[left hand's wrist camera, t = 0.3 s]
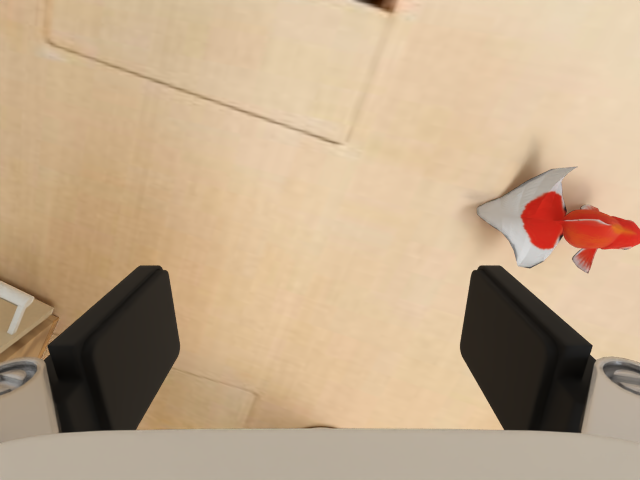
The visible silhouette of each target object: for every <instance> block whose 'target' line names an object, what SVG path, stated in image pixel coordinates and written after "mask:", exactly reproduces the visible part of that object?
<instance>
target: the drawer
mask: <svg viewBox="0 0 640 480" xmlns="http://www.w3.org/2000/svg"><path fill="white" fill-rule="evenodd" d="M53 310H54V308H53V307H51V306H49V305H47V304H45V303H43V302H41V301H39V300H37V299H35V298H34V296H32V295H29V294H27V293H25V292H23V291H21V290H19V289H17V288H15V287H13V286H11V285H9V284H7V283H5V282H3V281H0V354H1V353H2V352H3V351H4V350H6V349H7V348H8V347H10V346H11V345H12V344H14V343H15V342H16V341H18V340H19V339H20V338H21V337H23V336H24V335H25V334H27V333H28V332H29V331H31V330H32V329H33V328H35V327H36V326H37V325H38V324H40V323H41V322H42V321H44V320H45V319H46V318H48V317H49V316H50V315H51V314H52V312H53Z"/></svg>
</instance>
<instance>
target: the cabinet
mask: <svg viewBox="0 0 640 480" xmlns="http://www.w3.org/2000/svg"><path fill="white" fill-rule="evenodd" d="M58 319H59V317H56V316H54V315H52V314H51V315H50V316H49V317H48V318H46V319H45V320H44V321H42V322H41V323H40V324H38V325H37V326H36V327H35V328H33V329H32V330H31V331H29V332H28V333H27V334H25V335H24V336H23V337H21V338H20V339H19V340H18V341H16V342H15V343H14V344H12V345H11V346H10V347H8V348H7V349H6V350H4V351H3V352H2V353H1V354H0V363H1V362H4V361H7V360H11V359H15V358H21V357H37V358H40V359H41V357H42V355H43V352H44V350H45V348H46V346H47V344H48V341H49V339H50V337H51V335H52V333H53V330H54V328H55V326H56V324H57V322H58Z"/></svg>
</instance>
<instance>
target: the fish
mask: <svg viewBox="0 0 640 480" xmlns="http://www.w3.org/2000/svg"><path fill="white" fill-rule="evenodd" d="M575 168H576V167H569V168H558V169H551V170H549V171H547V172H545V173H542V174H540V175H538V176H536V177H534V178H532V179H530V180H528V181H526V182H524V183H523V184H521V185H520V186H518V187H517V188H515V189H514V190H512V191H510V192H509V193H507V194H505V195H504V196H502V197H501V198H498V199H495V200H492V201H490V202H487V203H485V204H483V205H481V206H479V207H478V208H477V215H478V216H480V217H481V218H482V219H483V220H484V221H486V222H487V223H489V224H490V225H491V226H493V227H494V228H496V229H497V230H499V231H500V232H502V233H503V234H504V235H505V237H506V238H507V239H508V240H509V242H510V244H511V246H512V248H513V250H514V253H515V257H516V261H517V265H518V266H520V267H526V268H532V267H533V266H535V265H537V264H539V263H541V262H543V261H544V260H545V259H546V258H547V257H548V256H549V255H550V254H551V252H552V251H553V250H554V248H555V247H556V245H557V244H558V242H559V241H560V239H561V238H562V236H563V235H564V238H565V239H566V241H567V242H568V243H569V244H571V245H572V246H574V247H577V248H582V249H581V250H579V251H578V252H577V253H576V254H575V255H574V256H573V258H572V260H573V262H574V263H575V264H576V266H577V267H578V268H580V269H581V270H583V271H584V272H586V273H588V272H589V270H590V268H591V265H592V261H593V259H594V255H595V253H596V251H597V249H598V248H601V249H624V250H625V249H630V248H632V247H633V246H635V245H638V244H640V229H639V228H638V226H637V225H636V224H635V223H634V222H633V221H631V220H624V219H621V218H618V217H614V216H609V215H607V214H604V213H602V212H599V210H598V208H595V207H593V206H591V205H584V206H582V207H581V210H574V211H572V212H570V213H569V214H567V215H566V212H567V210H566V207H565V203H564V200H563V197H562V184H561V181H562V179H563V178H564V177H565V176H566V175H567V174H568V173H569V172H570V171H572V170H573V169H575ZM565 215H566V216H565Z"/></svg>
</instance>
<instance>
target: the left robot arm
mask: <svg viewBox="0 0 640 480" xmlns="http://www.w3.org/2000/svg"><path fill="white" fill-rule="evenodd" d="M48 349H49V352H50V355H49V356H48V357H47V358H46V359H45V360H44V361H43V360H42V359H40V358H37V357H21V358H15V359H11V360H7V361H4V362H1V363H0V480H640V363H639V362H636V361H633V360H629V359H625V358H619V357H603V358H600V359H598V360H597V361H596V360H595V359H594V358H593V357H592V356H591V355H590V352H591V349H592V345H591V344H590V343H589V342H588V341H587V340H585V339H584V338H583V337H582V336H581V335H580V334H579V333H577V332H576V331H575V330H574V329H573V328H572V327H571V326H569V325H568V324H567V323H566V322H565V321H564V320H562V319H561V318H560V317H559V316H558V315H557V314H556V313H554V312H553V311H552V310H551V309H550V308H549V307H548V306H546V305H545V304H544V303H543V302H542V301H541V300H539V299H538V298H537V297H536V296H535V295H534V294H533V293H531V292H530V291H529V290H528V289H527V288H526V287H525V286H523V285H522V284H521V283H520V282H519V281H518V280H516V279H515V278H514V277H513V276H512V275H511V274H510V273H508V272H507V271H506V270H505V269H504V268H503V267H501V266H479V267H478V269H477V270H474V271H473V272H472V274H471V279H470V286H469V292H468V298H467V304H466V310H465V317H464V323H463V329H462V335H461V342H460V351H461V355H462V357H463V359H464V361H465V362H466V364H467V366H468V368H469V369H470V371H471V373H472V374H473V376H474V378H475V380H476V381H477V383H478V385H479V387H480V388H481V390H482V392H483V394H484V395H485V397H486V399H487V401H488V402H489V404H490V406H491V408H492V409H493V411H494V413H495V415H496V416H497V418H498V420H499V422H500V423H501V425H502V427H503V428H504V430H472V429H345V428H324V427H317V428H295V429H168V430H136V428H137V427H138V425H139V423H140V422H141V420H142V418H143V416H144V415H145V413H146V411H147V409H148V408H149V406H150V404H151V402H152V401H153V399H154V397H155V395H156V394H157V392H158V390H159V388H160V387H161V385H162V383H163V381H164V380H165V378H166V376H167V374H168V373H169V371H170V369H171V368H172V366H173V364H174V362H175V361H176V359H177V357H178V355H179V351H180V342H179V335H178V329H177V323H176V317H175V310H174V304H173V298H172V292H171V286H170V279H169V274H168V272H167V271H166V270H163V269H162V267H161V266H139V267H137V268H136V269H135V270H134V271H133V272H132V273H130V274H129V275H128V276H127V277H126V278H125V279H124V280H122V281H121V282H120V283H119V284H118V285H117V286H115V287H114V288H113V289H112V290H111V291H110V292H109V293H107V294H106V295H105V296H104V297H103V298H102V299H101V300H99V301H98V302H97V303H96V304H95V305H94V306H92V307H91V308H90V309H89V310H88V311H87V312H86V313H84V314H83V315H82V316H81V317H80V318H79V319H78V320H76V321H75V322H74V323H73V324H72V325H71V326H69V327H68V328H67V329H66V330H65V331H64V332H63V333H61V334H60V335H59V336H58V337H57V338H56V339H55V340H53V341H52V342H51V343H50V344H49V345H48Z"/></svg>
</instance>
